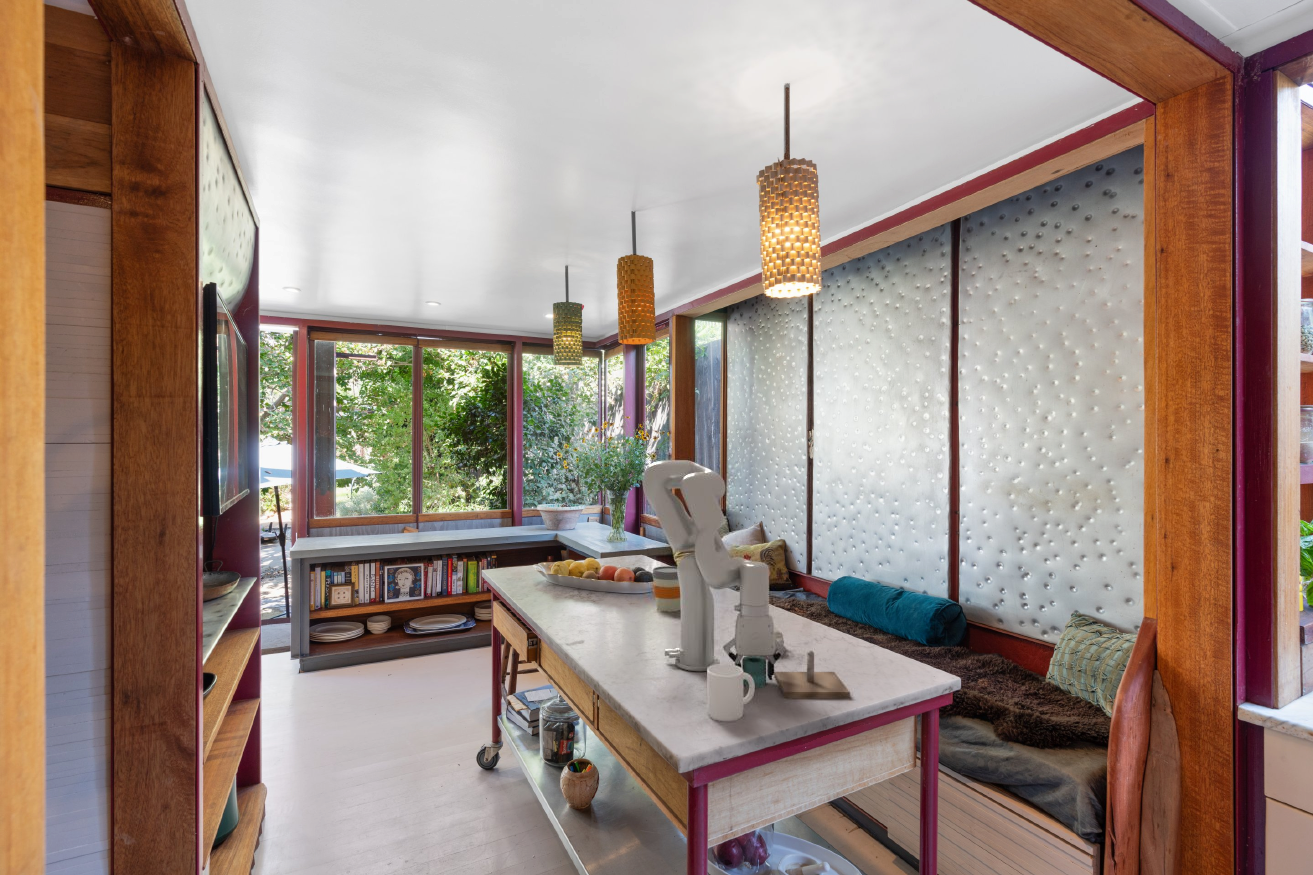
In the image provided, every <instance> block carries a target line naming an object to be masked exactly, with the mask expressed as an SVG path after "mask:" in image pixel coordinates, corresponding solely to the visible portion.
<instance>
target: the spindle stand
mask: <svg viewBox="0 0 1313 875" xmlns="http://www.w3.org/2000/svg"><path fill="white" fill-rule="evenodd" d="M773 676H774V679H775V681H776V683H777V686H778V687H779V689H780V691H781V693H782V695H783V697H784V699H851V691H850V690H849V689H848V688H847V686H846V685H845V684H844V682H843V681H842V680H841V679H840V677H839V676H838V675H837V673H836V672H835V671H815V652H814V651H813V650H808V651H807V653H806V671H774V675H773Z"/></svg>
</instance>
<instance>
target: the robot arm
mask: <svg viewBox="0 0 1313 875" xmlns="http://www.w3.org/2000/svg"><path fill="white" fill-rule="evenodd" d="M642 476H643V477H642V490H643V493H644V495H645V498H646V499H647V501H648V503H649V505H650V506H651V508H652V510H653V512H654V513H655V515H656V518H657V520H658V523H659V525H660V527H661V529H662V531H663V533H664V535H665V539H667V542H668V544H669V546H670V547H671V549H673V550H674V551H675V552H681V553H682V552H690V551H693V552H690V553H687V554H685V555H683V556H682V557H681V558H680V560H679V561H678V564H677V566H676V567H677V574H678V580H679V585H680V596H681V608H680V644H679V645H678V647H675V648H674V649H673V648H665V649H664V656H665V657H667V656H668V658H669V659H672V658H675V659H674V664H675V665H676V667H678V668H679V669H682V670H686V671H690V672H691V671H692V672H707V669H708V667H710V666H712V665H716V664H721V663H720V658H719V657H717V656H715V599H714V594H713V593H712V591H711V589H713V590H717V591H718V590H724V589H729V588H731V587H732V588H733V587H738V586H739V603H738V604H737V605H734V608H733V609H734V611H737V612H738V614H737V615H736V619H735V620H736V621H735V630H734V637H733V638H732V639H731V640H730V641H728V642H727V643H726V644H724V645H723V646H722V648H723V651H724V652H725V653H726V655H727V656H728V657H729V658H730V659H731V660H732V661H733V662H734V665H736V666H738V667H740V668H742V663H741V661H742V659H743V658H744V657H747V656H759V657H767V658H768V660H766V677H767V678H768V680H770V681H772V680H773V676H774V672H775V664H776V663H777V662H778V660H779V659H780V658H781V657H782V655H784V653H785V651H786V649H787V647H786V646H785V645H783V644H781V643H780V642H779V641H778V640H776V639H775V635H774V627H775V626H774V620H773V616H772V615H771V614H770V569H769V566H768V564H767V563H766V562H765V563H764V562H762V561H752V560H749V559H746V558H744V557H740V556H735V557H734V556H733V557H731V555H730V553H729V551H728V549H727V548H726V545H725V543H724V542H723V539H722V537H721V535H720V534H719V531H718V530H719V528H721V527H722V526H723V525H724V523H725V521H726V517H725V515H724V513H723V511H722V508H721V506H720V504H719V501H718V500H720V499H721V498H722V497H724V495H725V494H726V493H725V492H726V483H725V480H724V479H723V477H722V476H721V475H720V474H719V473H717V472H716V471H715V470H713V469H710V468H707V467H705V466H703V465H700V464H699V463H698V462H697V463H696V462H694V461H691V460H686V459H682V460H680V459H679V460H677V459H676V460H674V459H673V460H672V459H671V460H670V459H669V460H659V461H654V462H652V463H650V464H649V465H648V466H647V467H646V468H645V469H644V472H643V475H642ZM671 489H675V490H676V489H680V493H681V494H682V497H683V500H684V502H685V505H686V508H687V509H688V511H689V514H688V512H687V511H686V509H685V506H684V504H683V502H682V501H681V499H679V498H678V496H677V495H675V494H674V493H673V492H672V490H671ZM710 588H711V589H710ZM775 645H776V646H777V647H778V648H779V649H778V651H775ZM733 647H734V648H735V652H736V653H734V652H733V651H732V650H731V649H732V648H733Z"/></svg>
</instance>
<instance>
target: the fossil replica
mask: <svg viewBox="0 0 1313 875" xmlns="http://www.w3.org/2000/svg"><path fill="white" fill-rule="evenodd" d="M774 635H775V639H776V640H778V641H779V642H780V643H781V644H783V645H784V644H785V640H784V634H783V633H782V632H781V631H779V630H778V629H777V628H776V627H775V626H774ZM784 646H785V645H784ZM778 649H779V648H778V647H777V646H776V645H775V652H777V651H778Z"/></svg>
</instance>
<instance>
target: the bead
mask: <svg viewBox="0 0 1313 875" xmlns="http://www.w3.org/2000/svg"><path fill="white" fill-rule="evenodd" d="M741 661H742V663H741V668H742V669H743V673H747V674H749V675H750V676H751V677H752V678H753V680H754V684H755V688H761V687H765V686H766V685H767V660H766V658H764V657H763V656H743V657H742V659H741ZM744 685H745V686H746V687H749V683H748V681H747V680H746V679H743V686H744Z"/></svg>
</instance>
